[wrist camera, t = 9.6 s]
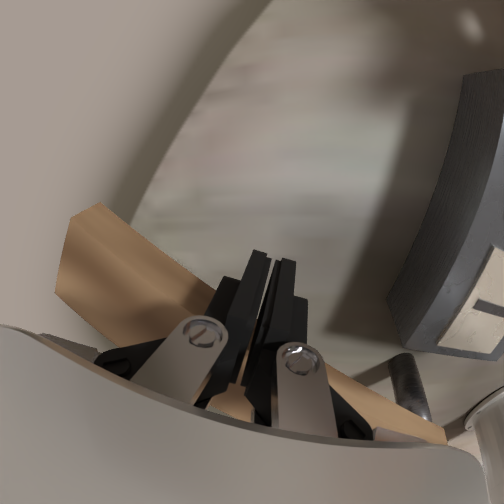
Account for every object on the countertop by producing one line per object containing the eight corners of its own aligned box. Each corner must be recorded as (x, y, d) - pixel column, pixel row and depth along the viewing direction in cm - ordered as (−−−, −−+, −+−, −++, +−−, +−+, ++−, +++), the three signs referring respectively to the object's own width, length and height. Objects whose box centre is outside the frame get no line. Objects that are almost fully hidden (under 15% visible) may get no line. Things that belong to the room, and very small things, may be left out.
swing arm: (100, 202, 11) (70, 217, 9) (451, 432, 15) (455, 450, 13) (76, 273, 13) (54, 292, 11) (405, 456, 17) (407, 473, 16)
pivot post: (419, 354, 24) (441, 429, 15) (404, 372, 25) (420, 445, 17) (397, 351, 24) (416, 430, 16) (383, 369, 26) (396, 446, 17)
